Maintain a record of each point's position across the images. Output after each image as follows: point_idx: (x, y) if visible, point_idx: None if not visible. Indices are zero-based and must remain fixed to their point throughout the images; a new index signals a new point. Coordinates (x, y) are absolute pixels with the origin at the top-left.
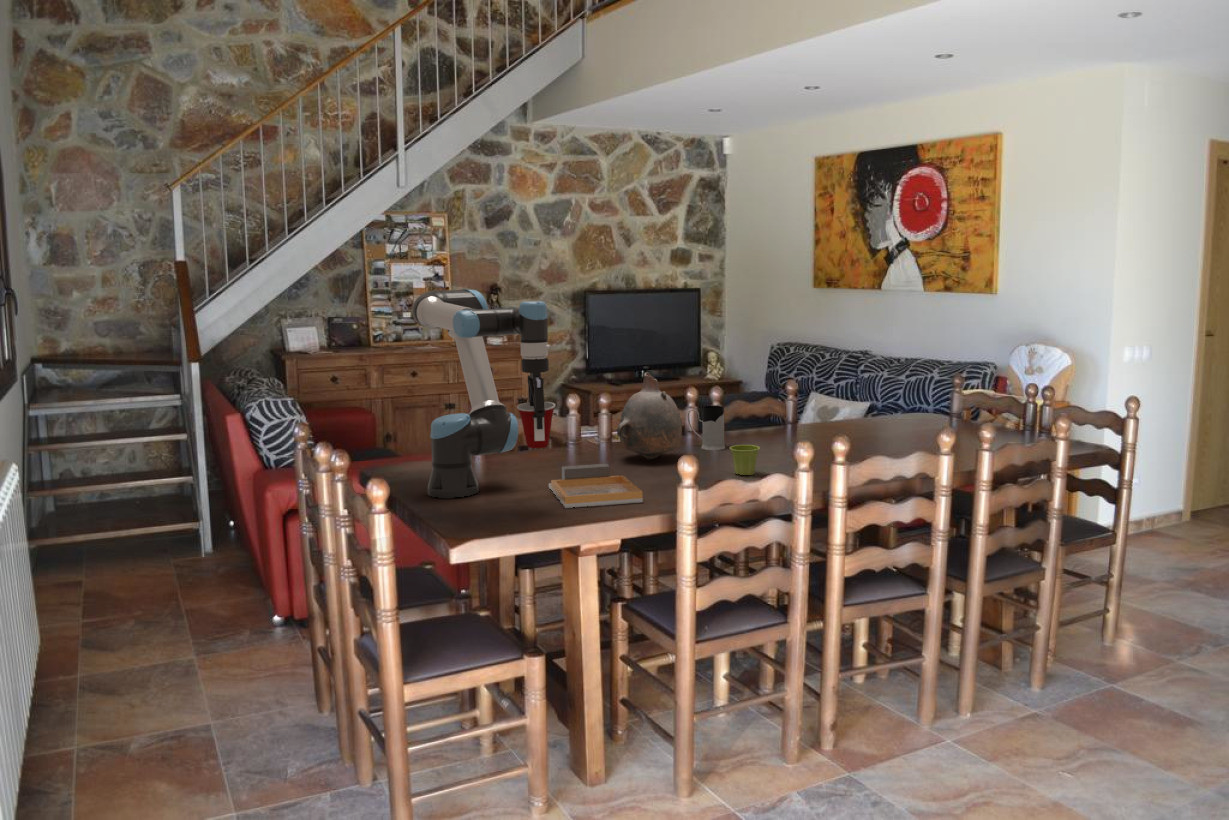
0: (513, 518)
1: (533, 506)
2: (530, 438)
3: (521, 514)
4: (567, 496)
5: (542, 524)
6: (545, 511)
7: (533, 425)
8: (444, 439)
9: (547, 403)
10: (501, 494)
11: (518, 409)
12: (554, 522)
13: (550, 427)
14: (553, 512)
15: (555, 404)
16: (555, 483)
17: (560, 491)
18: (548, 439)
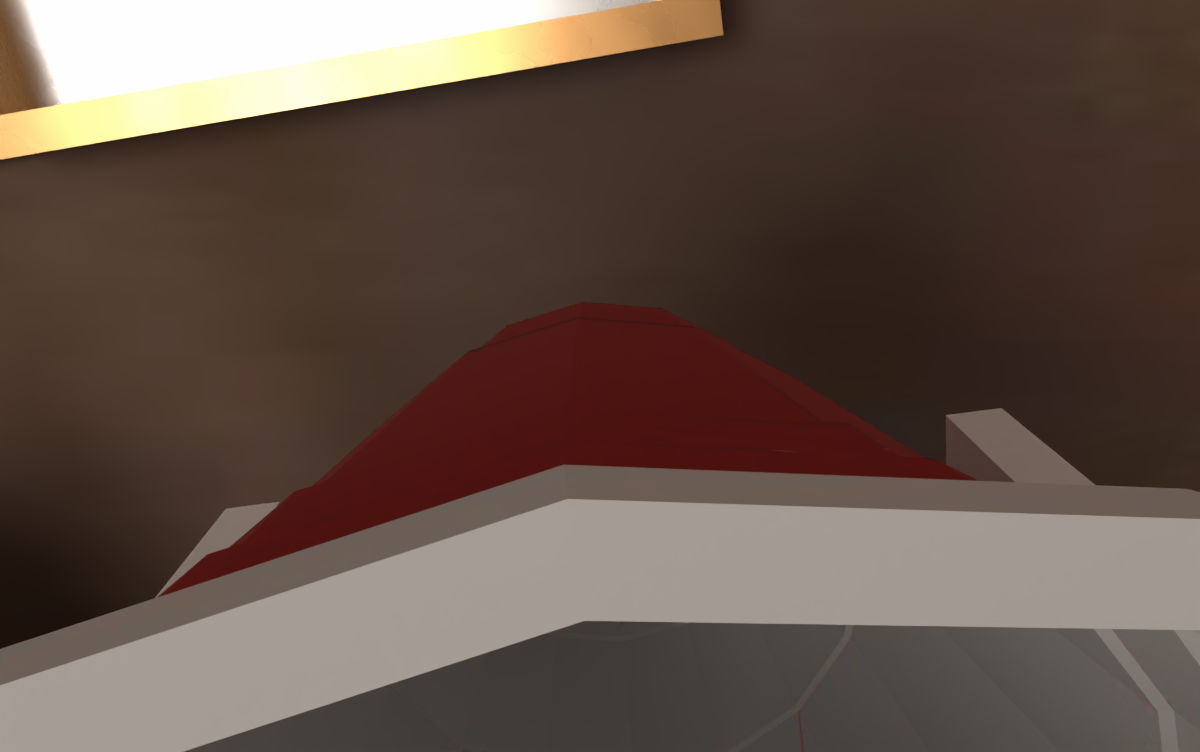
0: (934, 442)
1: None
2: (796, 666)
3: (833, 390)
4: (704, 8)
5: (1167, 235)
6: (780, 210)
7: None
8: None
9: None
10: (182, 550)
11: None
12: (1140, 141)
13: (734, 353)
14: (826, 145)
15: (681, 506)
16: (121, 120)
17: (481, 75)
18: (680, 323)
